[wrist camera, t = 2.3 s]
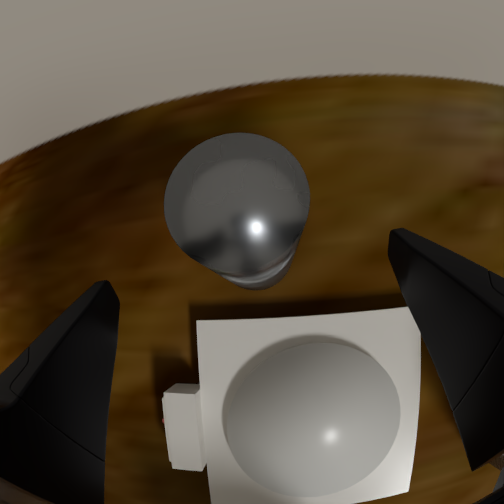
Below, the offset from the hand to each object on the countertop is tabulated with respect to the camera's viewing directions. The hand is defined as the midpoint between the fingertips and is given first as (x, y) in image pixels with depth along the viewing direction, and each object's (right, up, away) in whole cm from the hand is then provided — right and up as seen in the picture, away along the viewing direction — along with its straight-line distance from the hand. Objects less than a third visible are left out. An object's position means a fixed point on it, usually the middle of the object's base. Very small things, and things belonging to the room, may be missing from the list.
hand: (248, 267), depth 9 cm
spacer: (0, 0, +10) cm, 10 cm away
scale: (+3, -10, +8) cm, 13 cm away
